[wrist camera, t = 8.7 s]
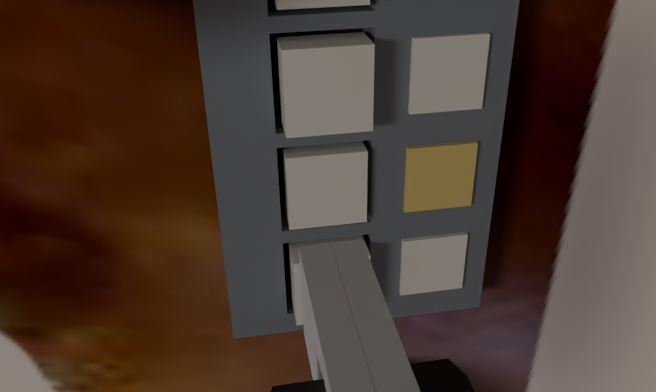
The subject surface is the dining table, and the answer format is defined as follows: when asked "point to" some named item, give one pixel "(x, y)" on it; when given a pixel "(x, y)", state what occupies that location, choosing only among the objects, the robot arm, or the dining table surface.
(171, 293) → the dining table surface
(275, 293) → the board
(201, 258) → the dining table surface
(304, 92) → the button
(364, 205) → the button
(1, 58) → the dining table surface
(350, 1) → the button
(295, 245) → the button
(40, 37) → the dining table surface
